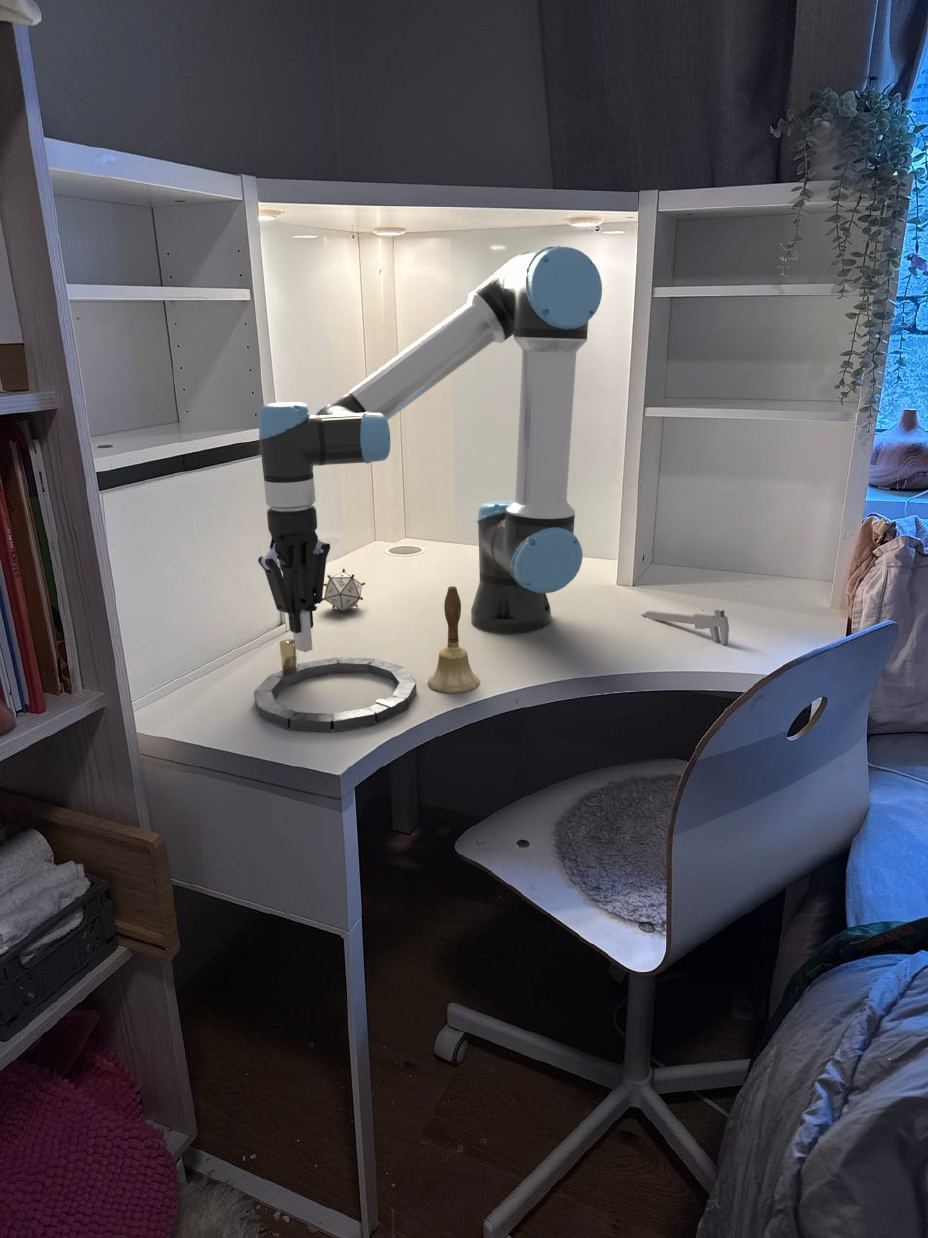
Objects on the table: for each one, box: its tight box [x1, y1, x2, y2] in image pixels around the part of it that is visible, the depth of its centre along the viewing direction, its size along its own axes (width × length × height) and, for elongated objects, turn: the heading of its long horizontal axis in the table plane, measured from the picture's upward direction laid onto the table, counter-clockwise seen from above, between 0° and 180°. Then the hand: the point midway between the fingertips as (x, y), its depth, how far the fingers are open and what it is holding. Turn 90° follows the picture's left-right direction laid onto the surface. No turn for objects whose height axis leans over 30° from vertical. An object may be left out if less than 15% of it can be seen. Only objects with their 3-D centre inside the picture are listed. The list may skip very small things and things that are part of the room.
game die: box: [322, 568, 366, 616], centre depth 176 cm, size 9×8×10 cm
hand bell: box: [427, 586, 481, 694], centre depth 138 cm, size 8×8×16 cm
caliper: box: [640, 609, 730, 646], centre depth 161 cm, size 20×1×6 cm, turn 33°
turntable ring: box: [253, 638, 418, 733], centre depth 135 cm, size 24×24×7 cm
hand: (303, 649), depth 144 cm, fingers closed
